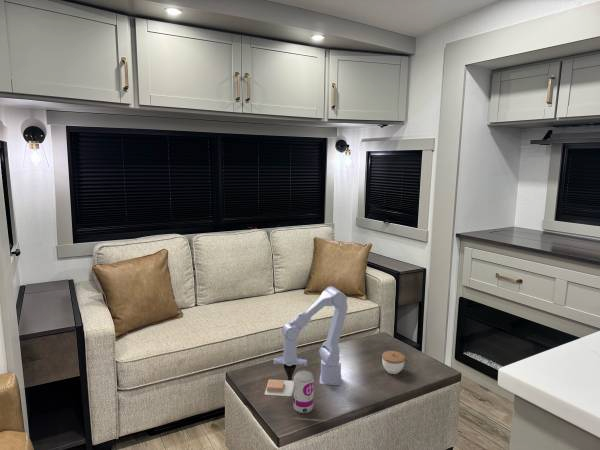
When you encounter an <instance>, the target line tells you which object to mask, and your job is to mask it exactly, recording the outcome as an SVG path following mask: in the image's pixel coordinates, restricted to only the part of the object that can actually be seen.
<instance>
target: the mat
mask: <svg viewBox="0 0 600 450" xmlns="http://www.w3.org/2000/svg"><path fill="white" fill-rule="evenodd" d="M269 380H271V379H268V381H267V385H268V382H269ZM282 381H284V388H283V391H267V385H266V388H265V391H264V395H267V396H281V397H282V396H283V397H293V394H294V380H285V379H282Z"/></svg>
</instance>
